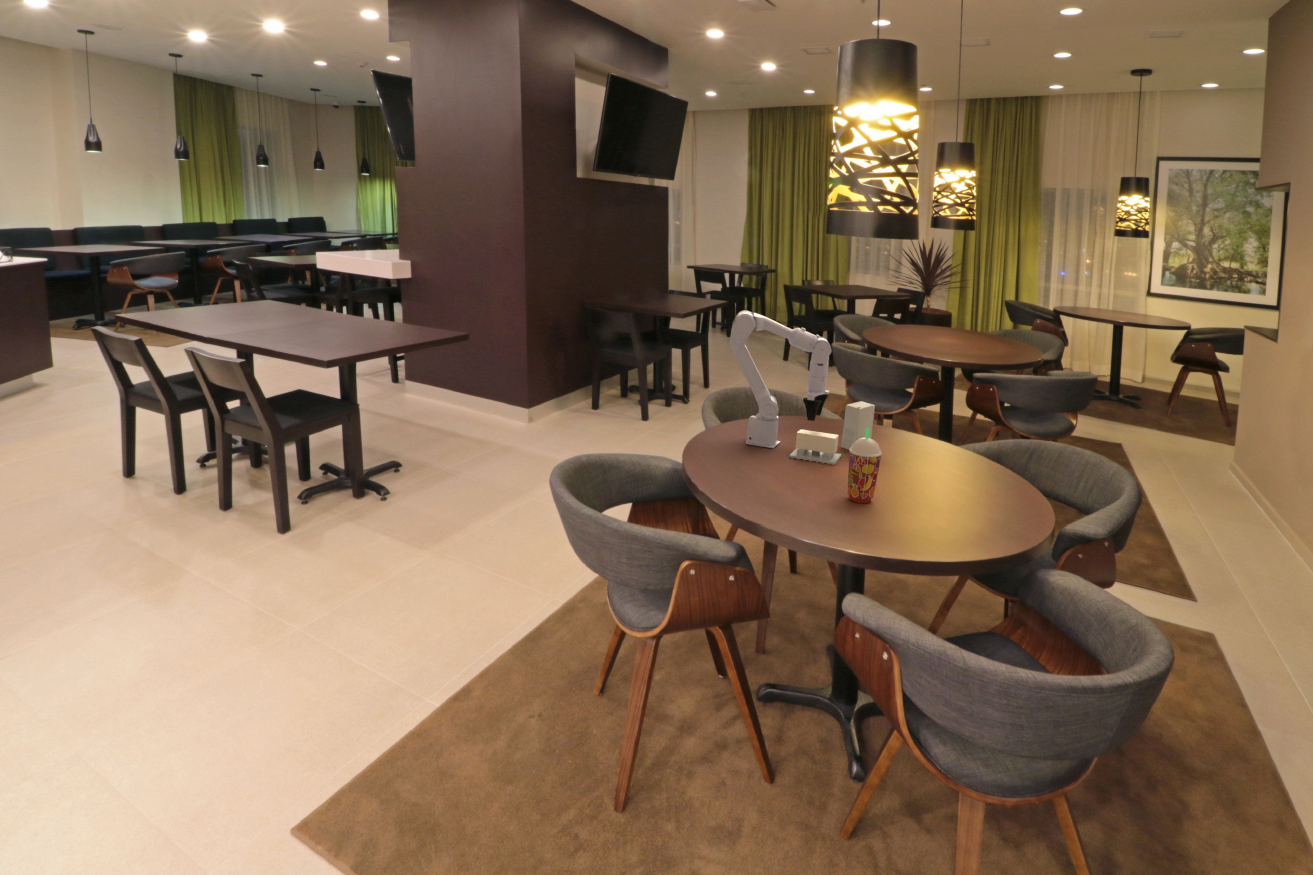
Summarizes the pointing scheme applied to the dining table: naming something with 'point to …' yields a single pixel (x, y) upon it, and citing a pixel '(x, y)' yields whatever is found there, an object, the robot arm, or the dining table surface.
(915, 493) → the dining table surface
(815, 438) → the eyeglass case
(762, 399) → the robot arm
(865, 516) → the dining table surface
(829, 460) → the display stand
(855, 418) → the skincare box
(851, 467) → the smoothie
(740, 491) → the dining table surface
